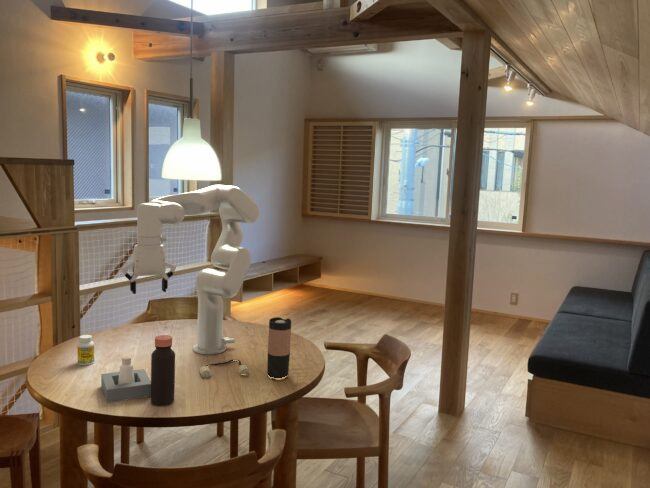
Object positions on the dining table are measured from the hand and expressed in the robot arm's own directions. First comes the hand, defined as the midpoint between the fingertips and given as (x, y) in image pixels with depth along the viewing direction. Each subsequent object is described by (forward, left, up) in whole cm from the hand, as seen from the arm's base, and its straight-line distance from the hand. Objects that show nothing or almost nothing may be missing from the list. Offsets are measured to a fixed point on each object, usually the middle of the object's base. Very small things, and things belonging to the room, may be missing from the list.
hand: (149, 292), depth 183 cm
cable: (-24, +6, -29) cm, 38 cm away
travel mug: (-40, +18, -28) cm, 52 cm away
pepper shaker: (+9, +13, -28) cm, 32 cm away
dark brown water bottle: (0, +24, -28) cm, 37 cm away
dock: (+9, +13, -28) cm, 32 cm away
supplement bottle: (+18, -16, -28) cm, 37 cm away
